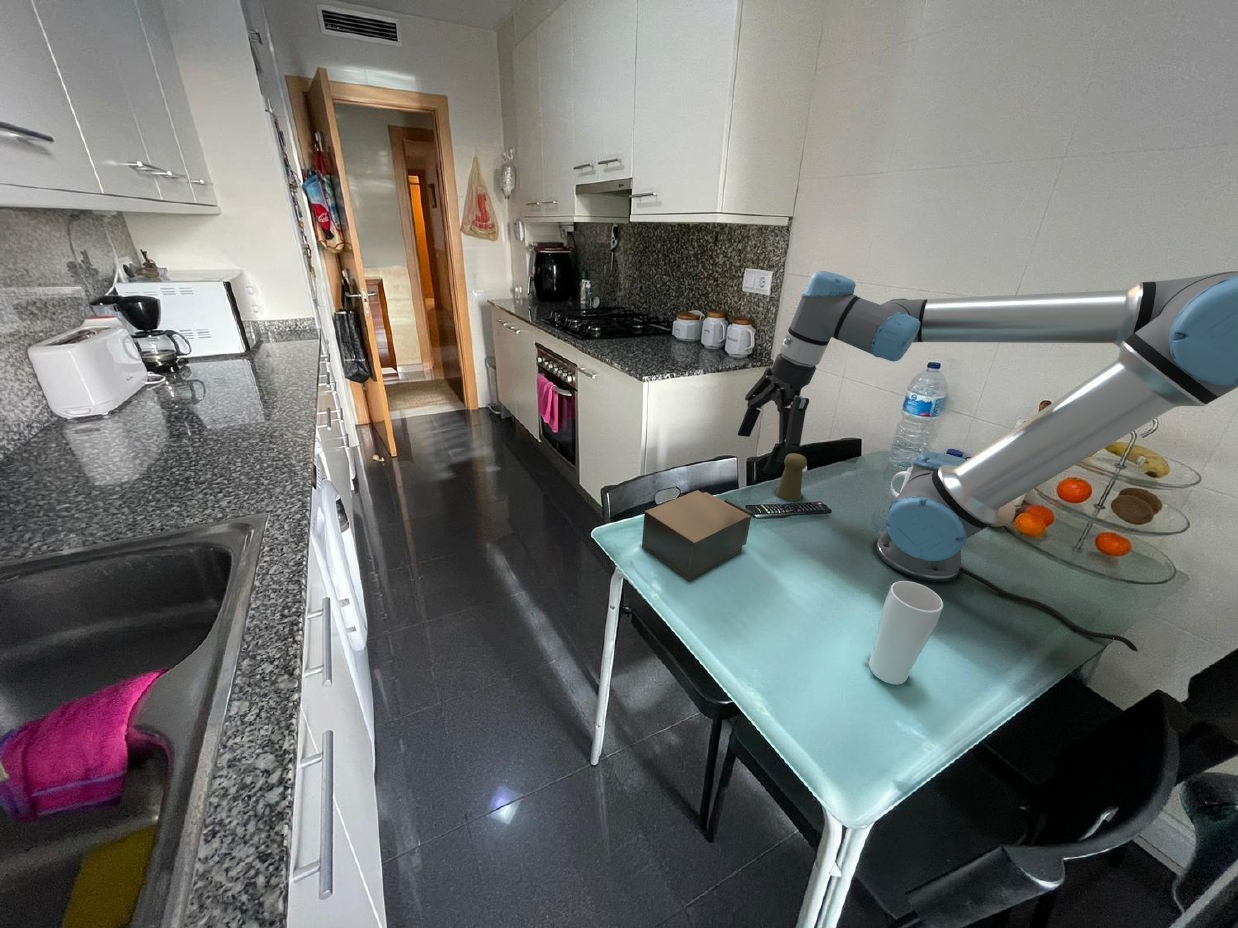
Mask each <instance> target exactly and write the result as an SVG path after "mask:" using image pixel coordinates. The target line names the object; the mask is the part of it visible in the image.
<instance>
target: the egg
mask: <svg viewBox="0 0 1238 928" xmlns="http://www.w3.org/2000/svg"><path fill="white" fill-rule="evenodd" d="M1015 516H1016V505H1015V504H1014V500H1013V501H1011V502H1009V503H1008V504H1006V505H1004V506H1002V507H1001V508H999V510H998V517H997V521H996V522H995V523H994V524H992V525H990V526H989V527H994V528H1001V527H1005V526H1007V525H1009V524H1010V523H1011V522H1012V521H1013V520H1014V518H1015Z"/></svg>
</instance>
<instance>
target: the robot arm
mask: <svg viewBox="0 0 1238 928" xmlns="http://www.w3.org/2000/svg"><path fill="white" fill-rule="evenodd" d="M856 286H857V285H856V281H855V280H853V279H852V278H848V277H847V276H844V275H841V274H839V273H836V272H831V271H827V270H818V271H815V272H814V273H813V274H812V275H811V277H810V279H809V281H808V283H807V285H806V287H805V289H804V291H803V293H802V294H801V298H800V300H799V303H798V305H797V307H796V310H795V312H794V315H793V317H792V320H791V322H790V325H789V327H788V330H787V332H786V335H785V337H784V339H783V341H782V344H781V346H780V348H779V352H780V353H777V355H776V357H775V359H774V362H773V365H772V367H766V368H765V370H764V372H763V374H762V376H761V377H760V378H759V379H758V380H757V381H756V383H755V384H754V385H753V386H752V388H750V390H749V391H748V392H747V393H746V395H745V396H744V400H745V401H746V402H747V403H746V406H747V409H746V411H745V414H744V415H743V419H742V421H741V424H740V426H739V429H738V431H737V436H738V437H747V438H750V437H751V434H752V432H753V430H754V428H755V425H756V423H757V422H758V421H757V420H758V419H759V416H760V414H761V410H760V409H763V408H762V407H763V406H764V405H767V404H768V403H770V402H771V401H772V402H774V404H775V405H776V409H777V412H778V414H779V415H778V416H779V417H778V443H777V442H776V443H775V444H774V445H773V448H772V450H771V452H770V454H769V456H768V459H767V461H766V462H765V464H764V467H763V469H762V471H763V473H765V474H774V475H776V474H778V472H779V469H780V467H781V465H782V463H784V461H785V458H786V456H787V455H788V454H789V451H793V452H794V451H795V452H798V451H799V450H800V449H801V443H802V435H803V430H804V423H805V418H806V411H807V409H808V406H809V404H810V398H809V397H804V396H802V395H801V392H802V389H803V388H805V387H806V386H808V385H810V384H811V381H812V379H813V377H814V376H815V372H816V371H817V366H818V365H820V363H821V361H822V358H823V356H824V354H825V352H826V350H827V348H828V345H829V343H830V341H831V339H832V338H833V339H835V340H837V341H840V342H842V343H845V344H846V345H849V346H852V347H854V348H856V349H859V350H860V351H863V352H865V353H868V354H870V355H872V356H873V357H875V358H880V359H884V360H886V361H889V362H899V361H900V360H901V359H902V358H903V357H904V356H905V354H906V353H907V352H908V350H909V349H910V348H911V346H912V344H913V343H999V344H1000V343H1001V344H1002V343H1003V344H1004V343H1006V344H1007V343H1009V344H1011V343H1012V344H1013V343H1016V344H1017V343H1018V344H1020V343H1022V344H1023V343H1025V344H1029V343H1030V344H1032V343H1033V344H1049V343H1050V344H1055V343H1056V344H1113V345H1116V346H1117V348H1119V353H1118V356H1117V358H1116V360H1115V361H1113V362H1111V363H1110V364H1109V365H1107V366H1106V367H1104V368H1102V369H1100V370H1099V371H1098V372H1096V373H1095V374H1093V375H1092V376H1091V377H1089V378H1088V379H1086V380H1084V381H1083V382H1082V383H1080V384H1078V385H1077V386H1075V387H1074V388H1073V389H1071V390H1070V391H1068V392H1067V393H1065V394H1063V395H1062V396H1061V397H1059V398H1058V399H1056V400H1055V401H1053V402H1051V403H1050V404H1049V405H1047V406H1045V408H1043V409H1041V410H1040V411H1038V412H1036V413H1035V414H1034V415H1032V416H1031V417H1030V418H1028V419H1027V420H1025V421H1023V422H1022V423H1020V424H1019V425H1017V426H1016V427H1015V428H1013V429H1011V430H1010V431H1009V432H1007V433H1005V434H1004V435H1003V436H1001V437H1000V438H998V439H997V440H995V441H994V442H992V443H991V444H990V445H988V446H986V447H985V448H983V449H982V450H980V451H979V452H977V453H975V454H974V455H973V456H971V457H970V458H969V459H966V458H963V457H959V456H957V455H952V454H947V453H941V452H935V451H934V452H933V451H925V452H921V453H919V454H917V456H916V458H915V460H914V462H913V463H912V467H913V469H912V472H911V474H910V477H909V479H908V481H907V483H906V485H905V486H904V488H903V489H902V491H901V490H900V491H901V492H900V491H899V493H900V494H899V496H898V497H897V499H896V498H895V500H894V502H892V503H891V505H890V506H889V507H888V511H887V515H886V519H885V521H886V522H885V527H886V529H885V530H884V531H883V532H882V533H881V535H880V536H879V537H878V540H877V543H876V547H875V551H876V555H878V557H879V558H880V560H882V562H884V563H885V564H886V565H887V566H889V567H890V568H892V569H893V570H895V571H897V572H899V573H901V574H902V575H905V576H908V577H910V578H913V579H917V580H920V581H925V582H930V583H947V582H951V581H954V580H955V579H956V578H957V577H958V575H959V574H960V573H962V574H964V575H966V576H968V577H970V578H972V579H974V580H976V581H978V582H979V583H981V584H983V585H985V586H986V587H988V588H989V589H992V590H993V591H995V592H997V593H998V594H1000V595H1003V596H1005V597H1008V598H1010V599H1013V600H1015V601H1019V602H1023V603H1027V604H1031V605H1033V606H1036V607H1039V608H1041V609H1044V610H1045V611H1047V612H1049V613H1050V614H1052V615H1054V616H1055V617H1057V619H1059V620H1061V621H1062V622H1063V623H1064V624H1066V625H1067V626H1069V627H1070V628H1072V629H1073V630H1075V631H1077V632H1079V633H1081V634H1083V635H1086V636H1089V637H1092V638H1097V639H1104V640H1113V641H1117V642H1121V643H1123V644H1124V645H1126V646H1127V648H1129V650H1132V651H1134V652H1139V651H1138V648H1137V646H1136V645H1135V644H1134V643H1133V642H1132V641H1131V640H1130V639H1128V638H1126V637H1124V636H1122V635H1117V634H1112V633H1105V632H1096V631H1092V630H1089V629H1086V628H1084V627H1082V626H1080V625H1077V624H1076V623H1074V622H1073V621H1072V620H1070V619H1069V618H1068V617H1066V616H1065V615H1064V614H1062V613H1061V612H1060V611H1058V610H1056V608H1054V607H1051V606H1049V605H1048V604H1046V603H1044V602H1042V601H1038V600H1036V599H1032V598H1028V597H1026V596H1025V597H1024V596H1021V595H1018V594H1015V593H1011V592H1009V591H1007V590H1004V589H1003V588H1000V587H999V586H997V585H996V584H993V583H992V582H990V581H988V580H987V579H985V578H983V577H981V576H979V575H977V574H975V573H973V572H971V571H969V570H967V569H965V568H963V567H962V549H963V547H964V546H965V544H966V542H967V540H968V539H969V538H971V537H973V536H974V535H976V534H978V533H980V532H981V531H983V530H985V529H986V528H988V527H991V526H990V525H992V524H994V523H995V522H996V521H997V517H998V510H999V508H1001V507H1002V506H1004V505H1006V504H1008V503H1009V502H1011V501H1013V502H1014V501H1015V500H1016V499H1018V498H1020V497H1021V496H1023V495H1026V494H1027V493H1029V492H1030V491H1032V490H1034V489H1036V488H1038V487H1039V486H1041V485H1042V484H1044V483H1047V481H1049V480H1051V479H1053V478H1054V477H1057V476H1059V475H1060V474H1062V473H1063V472H1064V471H1067V470H1068V469H1070V468H1073V466H1076V465H1077V464H1079V463H1080V462H1082V461H1084V460H1086V459H1087V458H1089V457H1091V456H1093V455H1095V454H1097V453H1098V452H1100V451H1101V450H1103V449H1106V448H1107V447H1108V446H1110V445H1112V444H1113V443H1115V442H1117V441H1119V440H1120V439H1123V438H1125V437H1126V436H1127V435H1129V434H1131V433H1133V432H1134V431H1137V430H1138V429H1139V428H1141V427H1143V426H1145V425H1146V424H1149V423H1150V422H1152V421H1153V420H1155V419H1158V418H1159V417H1160V416H1163V415H1164V414H1166V413H1167V412H1169V411H1171V410H1173V409H1174V408H1179V407H1204V406H1206V405H1209V404H1210V403H1212V402H1213V401H1215V400H1217V399H1219V398H1220V397H1223V396H1225V395H1226V394H1228V393H1230V392H1232V391H1233V390H1235V389H1237V388H1238V270H1233V271H1224V272H1223V271H1222V272H1217V273H1210V274H1203V275H1197V276H1191V277H1185V278H1176V279H1167V280H1157V281H1156V280H1155V281H1139V282H1136V283H1134V284H1133V285H1132V286H1130V287H1129V288H1128V289H1122V290H1121V289H1119V290H1099V291H1098V290H1097V291H1076V292H1074V291H1073V292H1054V293H1053V292H1051V293H1032V294H1031V293H1029V294H1009V295H1005V294H1004V295H987V296H986V295H984V296H961V297H941V298H940V297H939V298H926V299H925V298H923V299H922V298H918V299H908V298H894V299H890V300H888V301H885V302H883V303H881V304H880V303H876V302H873V301H870V300H867V299H865V298H861V297H860V296H858V295H856V294H854V293H855V288H856ZM1113 638H1114V639H1113Z"/></svg>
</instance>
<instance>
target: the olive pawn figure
mask: <svg viewBox="0 0 1238 928" xmlns="http://www.w3.org/2000/svg"><path fill="white" fill-rule="evenodd" d="M807 461H808V460H807V457H805V456H804V455H802V454H800V453H796V452H795V453H794V452H793V453H792V452H791V453H788V454H787V456H786V458H785V460H784V461H783V464H784V466H785V467H784V470H783V471H782V475H781V478H780V480H779V483H778V486H777V488H776V492H775V494H776V496H778V498H780V499H783V500H785V501H791V502H795V501H799V500H800V499H801V497H802V496H801V495H802V483H803V471H804V470H805V468H806V467H807Z"/></svg>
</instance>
